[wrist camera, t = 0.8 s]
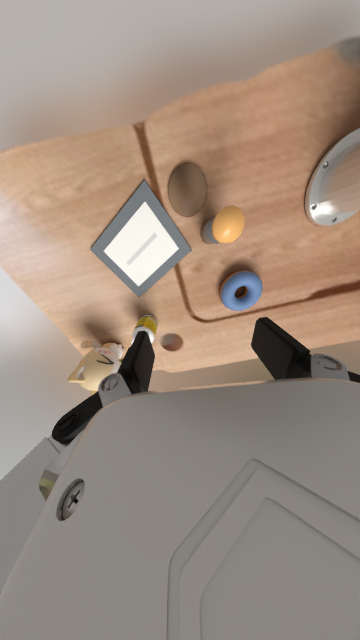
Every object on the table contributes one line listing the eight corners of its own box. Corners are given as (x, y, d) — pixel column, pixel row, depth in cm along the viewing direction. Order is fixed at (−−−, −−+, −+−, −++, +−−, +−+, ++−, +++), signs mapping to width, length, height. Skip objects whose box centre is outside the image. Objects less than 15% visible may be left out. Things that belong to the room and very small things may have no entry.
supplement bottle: (147, 310, 36) (137, 330, 27) (161, 322, 38) (157, 344, 29) (135, 322, 37) (123, 344, 29) (149, 333, 39) (142, 356, 31)
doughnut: (249, 309, 36) (257, 315, 32) (214, 305, 36) (218, 311, 32) (261, 272, 32) (273, 273, 28) (222, 267, 32) (228, 268, 28)
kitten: (137, 361, 45) (122, 407, 32) (111, 366, 46) (86, 413, 33) (118, 327, 38) (88, 369, 25) (88, 334, 39) (44, 377, 26)
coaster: (191, 153, 21) (191, 150, 21) (213, 196, 24) (214, 195, 24) (160, 189, 23) (160, 187, 23) (184, 225, 26) (184, 225, 26)
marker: (213, 215, 26) (235, 197, 16) (223, 234, 27) (249, 227, 18) (196, 231, 27) (208, 222, 17) (207, 248, 28) (223, 249, 19)
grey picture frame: (145, 181, 23) (144, 179, 22) (191, 250, 28) (191, 250, 28) (91, 249, 28) (89, 249, 27) (139, 296, 34) (139, 297, 33)
